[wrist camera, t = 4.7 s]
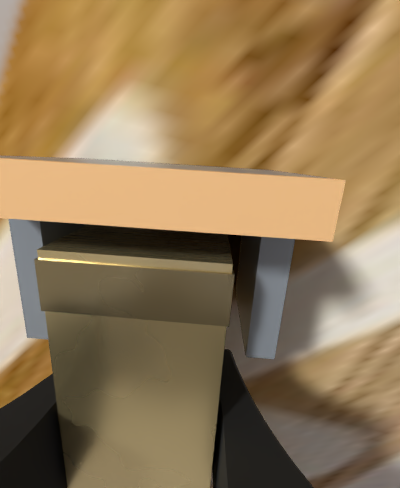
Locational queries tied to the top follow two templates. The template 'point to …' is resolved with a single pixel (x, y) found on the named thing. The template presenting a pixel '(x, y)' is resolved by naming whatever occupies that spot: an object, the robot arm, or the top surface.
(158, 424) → the tan rectangular post
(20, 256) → the socket
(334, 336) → the top surface
